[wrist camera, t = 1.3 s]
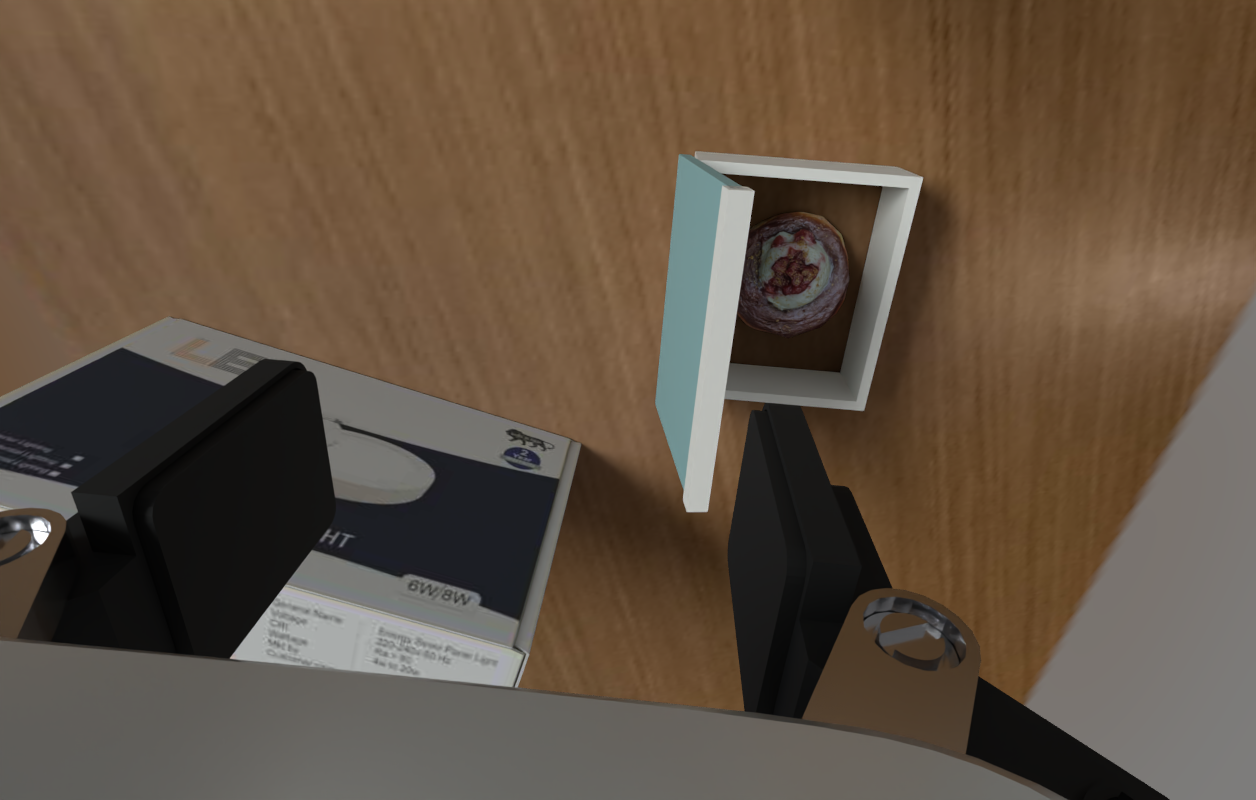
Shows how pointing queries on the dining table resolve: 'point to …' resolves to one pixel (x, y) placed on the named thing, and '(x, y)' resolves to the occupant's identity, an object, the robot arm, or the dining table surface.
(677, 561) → the dining table surface
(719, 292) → the lid
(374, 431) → the packaging
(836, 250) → the pastry
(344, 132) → the dining table surface
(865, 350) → the box
